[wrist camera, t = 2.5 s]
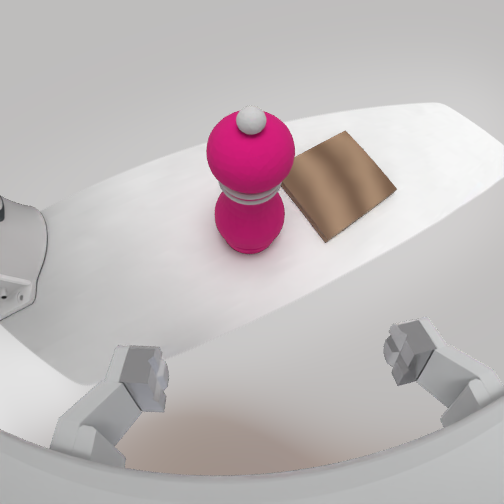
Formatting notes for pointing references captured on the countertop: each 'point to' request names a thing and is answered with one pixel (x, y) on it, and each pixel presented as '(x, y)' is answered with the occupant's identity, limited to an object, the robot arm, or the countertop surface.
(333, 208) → the walnut board
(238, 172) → the pepper mill
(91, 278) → the countertop surface
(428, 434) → the robot arm
